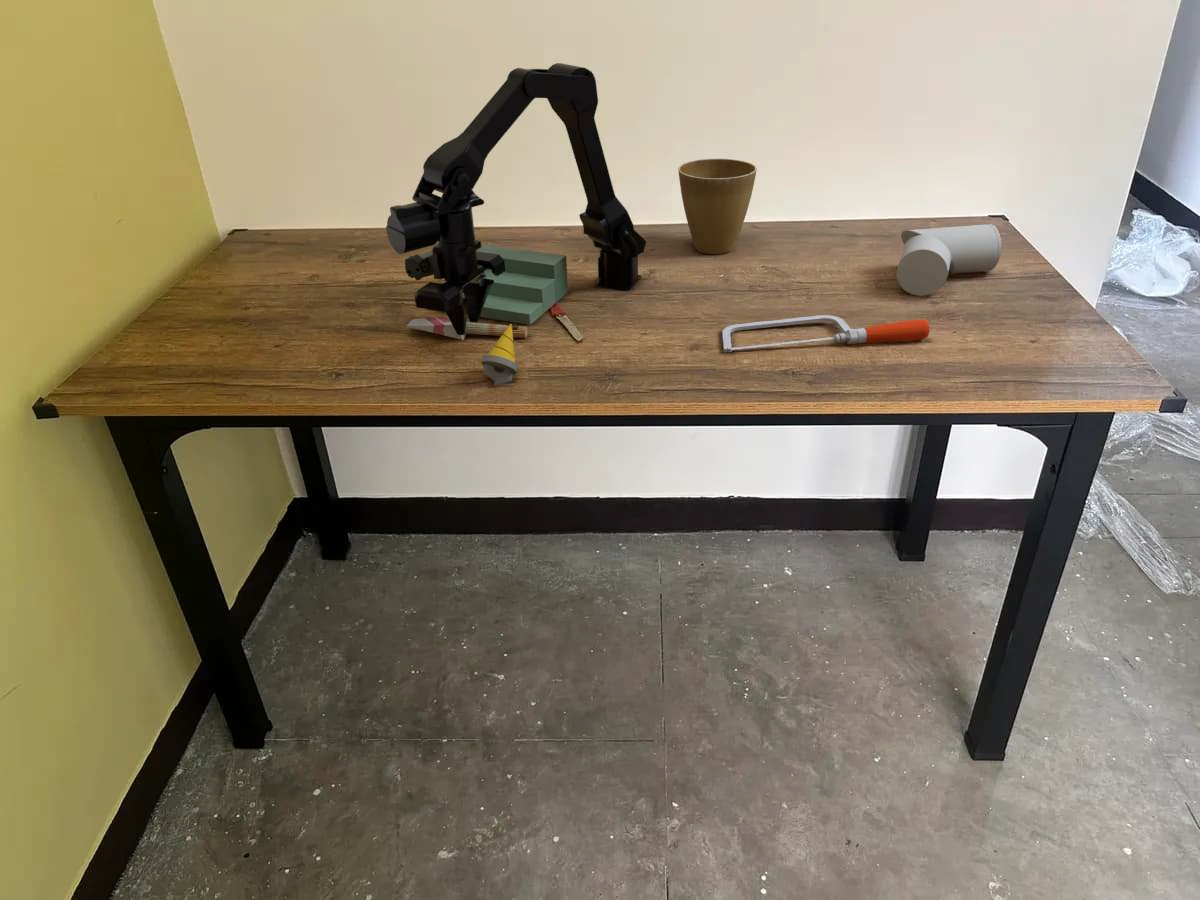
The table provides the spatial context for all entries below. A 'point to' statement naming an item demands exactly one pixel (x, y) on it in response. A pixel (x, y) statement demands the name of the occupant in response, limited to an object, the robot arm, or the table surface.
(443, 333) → the paintbrush
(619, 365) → the table surface
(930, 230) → the l-shaped cylinder
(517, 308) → the staircase
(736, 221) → the plant pot
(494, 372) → the yellow cone with collar
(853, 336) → the hand saw
